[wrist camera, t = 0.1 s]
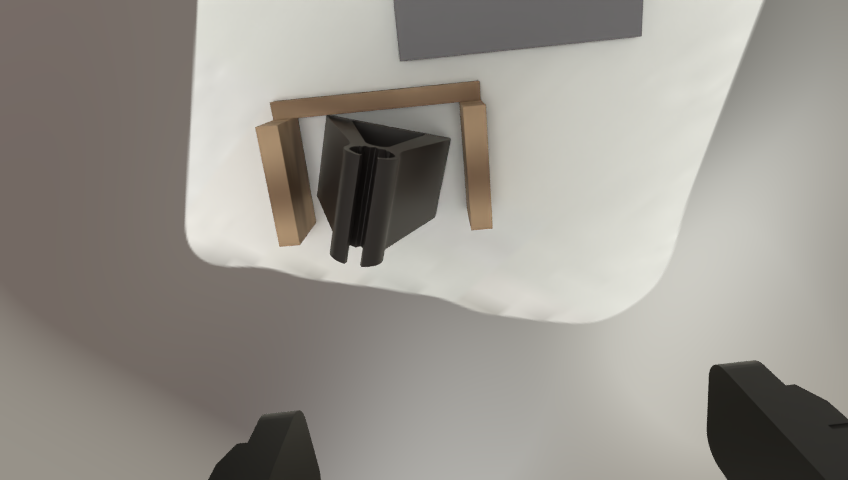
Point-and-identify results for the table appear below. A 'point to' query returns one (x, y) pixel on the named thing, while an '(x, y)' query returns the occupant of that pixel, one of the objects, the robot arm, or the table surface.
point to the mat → (508, 24)
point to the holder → (283, 132)
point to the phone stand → (377, 184)
